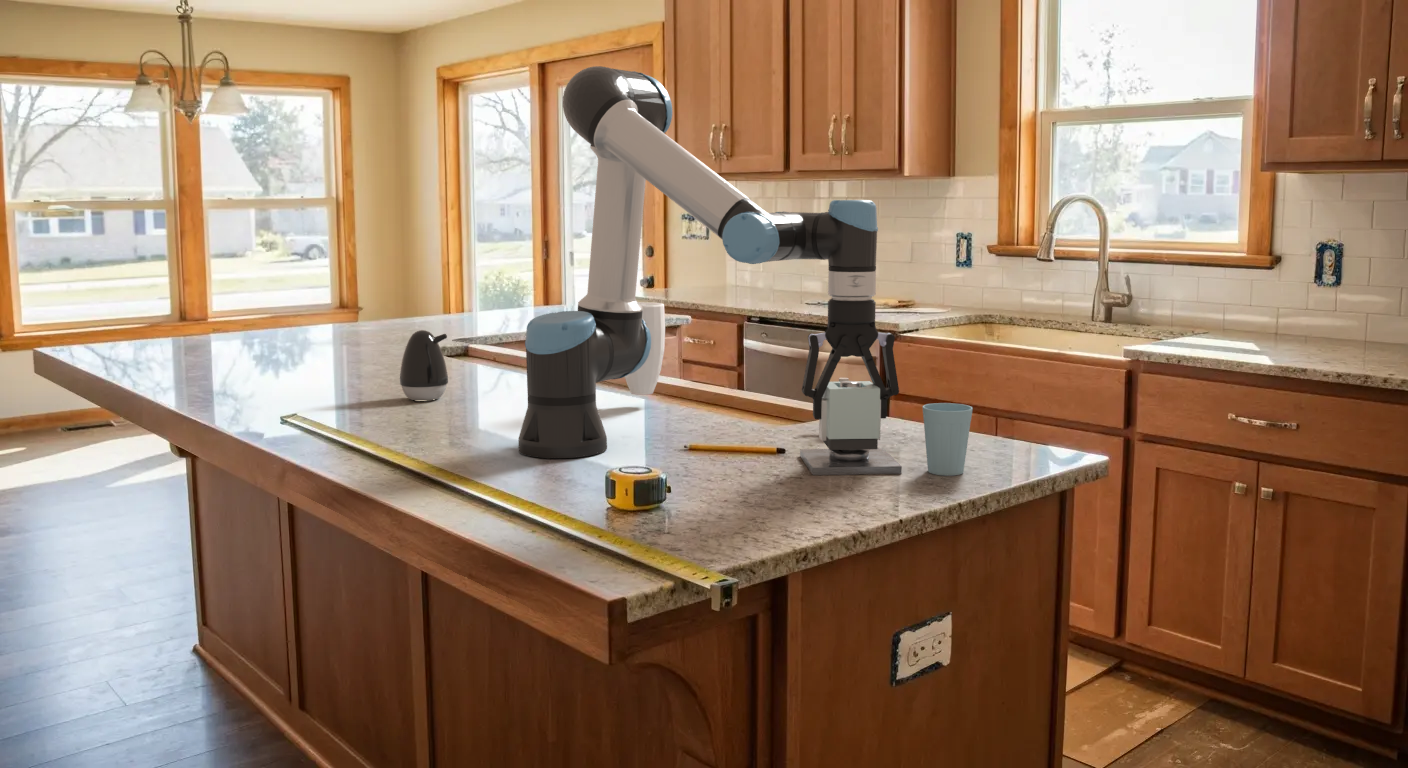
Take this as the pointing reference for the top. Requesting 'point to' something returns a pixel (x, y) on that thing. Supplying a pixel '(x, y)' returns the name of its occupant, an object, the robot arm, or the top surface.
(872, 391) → the sleeve
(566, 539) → the top surface
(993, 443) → the top surface
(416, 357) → the pump dispenser
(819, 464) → the pipe stand
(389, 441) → the top surface
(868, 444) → the dark grey square slab
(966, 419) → the cup
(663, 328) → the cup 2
